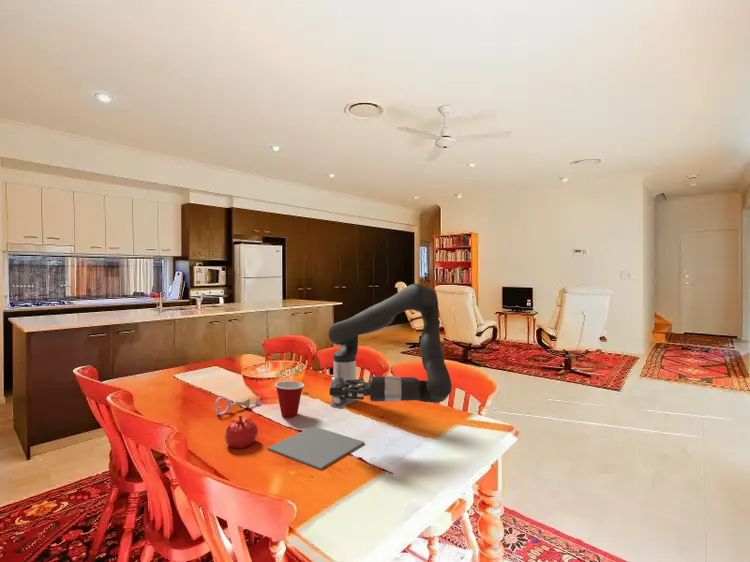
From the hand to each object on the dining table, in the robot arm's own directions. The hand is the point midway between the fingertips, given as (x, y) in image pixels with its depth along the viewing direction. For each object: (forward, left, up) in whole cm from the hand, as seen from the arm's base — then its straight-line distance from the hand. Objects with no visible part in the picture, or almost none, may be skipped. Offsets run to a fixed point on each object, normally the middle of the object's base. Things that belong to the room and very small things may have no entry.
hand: (330, 388), depth 122 cm
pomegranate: (-25, -14, -19) cm, 34 cm away
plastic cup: (-31, +12, -18) cm, 38 cm away
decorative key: (-52, +5, -19) cm, 55 cm away
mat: (-4, -2, -18) cm, 19 cm away
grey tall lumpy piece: (+2, +1, -6) cm, 7 cm away
